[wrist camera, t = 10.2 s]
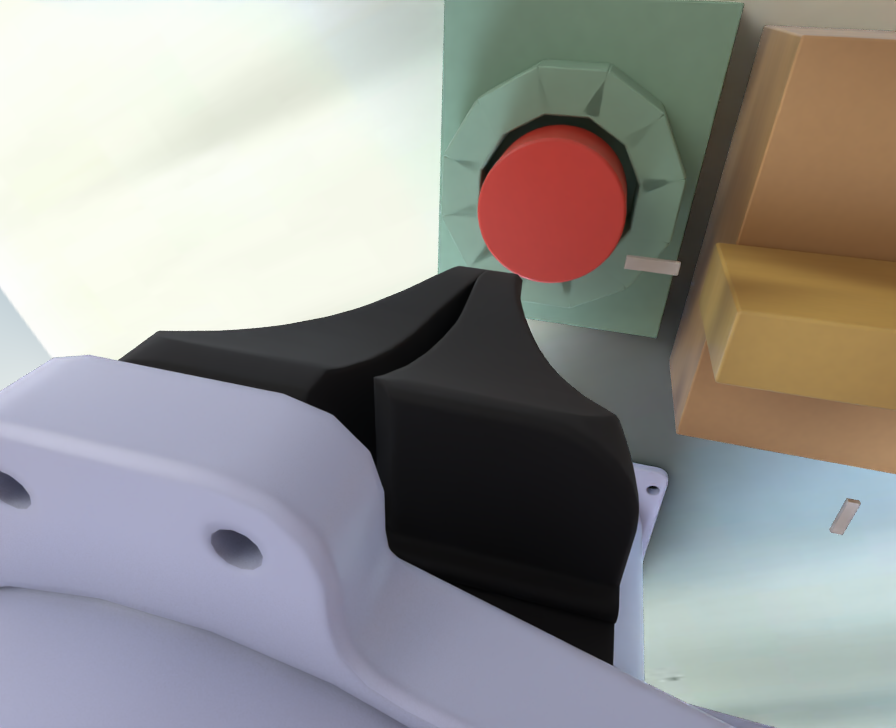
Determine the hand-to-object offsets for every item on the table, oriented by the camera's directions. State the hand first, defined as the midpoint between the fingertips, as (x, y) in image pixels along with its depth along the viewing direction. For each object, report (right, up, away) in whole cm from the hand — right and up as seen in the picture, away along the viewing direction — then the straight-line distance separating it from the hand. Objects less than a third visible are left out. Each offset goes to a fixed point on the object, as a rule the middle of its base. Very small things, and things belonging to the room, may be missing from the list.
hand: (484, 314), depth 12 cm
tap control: (+3, +5, +7) cm, 10 cm away
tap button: (+2, +4, +5) cm, 7 cm away
